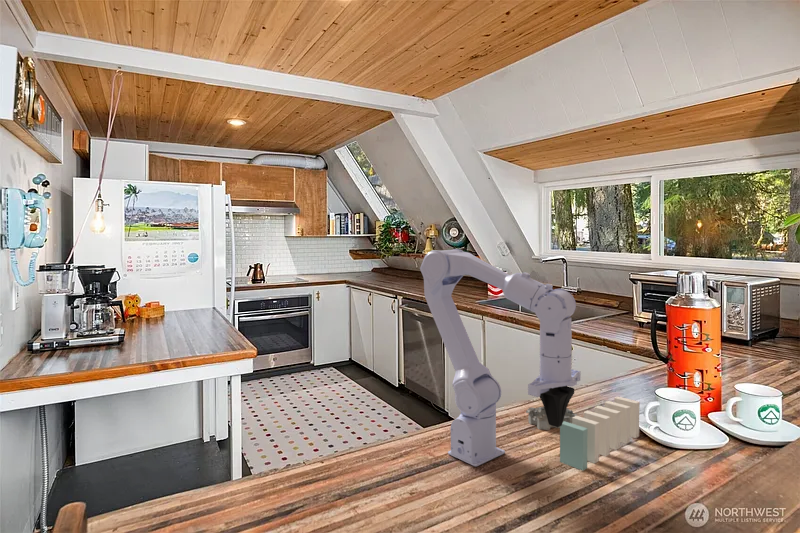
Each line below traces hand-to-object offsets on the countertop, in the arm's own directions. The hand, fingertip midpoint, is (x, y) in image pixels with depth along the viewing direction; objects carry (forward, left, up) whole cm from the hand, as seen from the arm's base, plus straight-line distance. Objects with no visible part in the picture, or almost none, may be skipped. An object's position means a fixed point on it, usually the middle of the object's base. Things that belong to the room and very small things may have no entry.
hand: (555, 424), depth 92 cm
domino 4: (+20, 0, -10) cm, 22 cm away
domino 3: (+16, 0, -10) cm, 18 cm away
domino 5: (+24, 0, -10) cm, 26 cm away
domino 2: (+11, 0, -10) cm, 15 cm away
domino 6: (+29, 0, -10) cm, 31 cm away
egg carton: (+22, +15, -10) cm, 29 cm away
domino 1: (+6, 0, -10) cm, 12 cm away
